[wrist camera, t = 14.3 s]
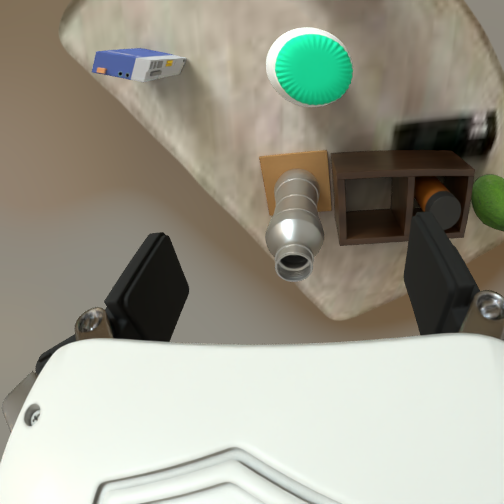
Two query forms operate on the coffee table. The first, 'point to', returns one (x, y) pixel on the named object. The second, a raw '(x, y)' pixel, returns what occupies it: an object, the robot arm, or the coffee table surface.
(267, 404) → the robot arm
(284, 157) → the cork mat
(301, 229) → the metal flask
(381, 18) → the coffee table surface
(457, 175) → the brown divided box
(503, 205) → the fruit
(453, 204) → the spice jar
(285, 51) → the water bottle
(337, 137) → the coffee table surface
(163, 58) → the walkman
